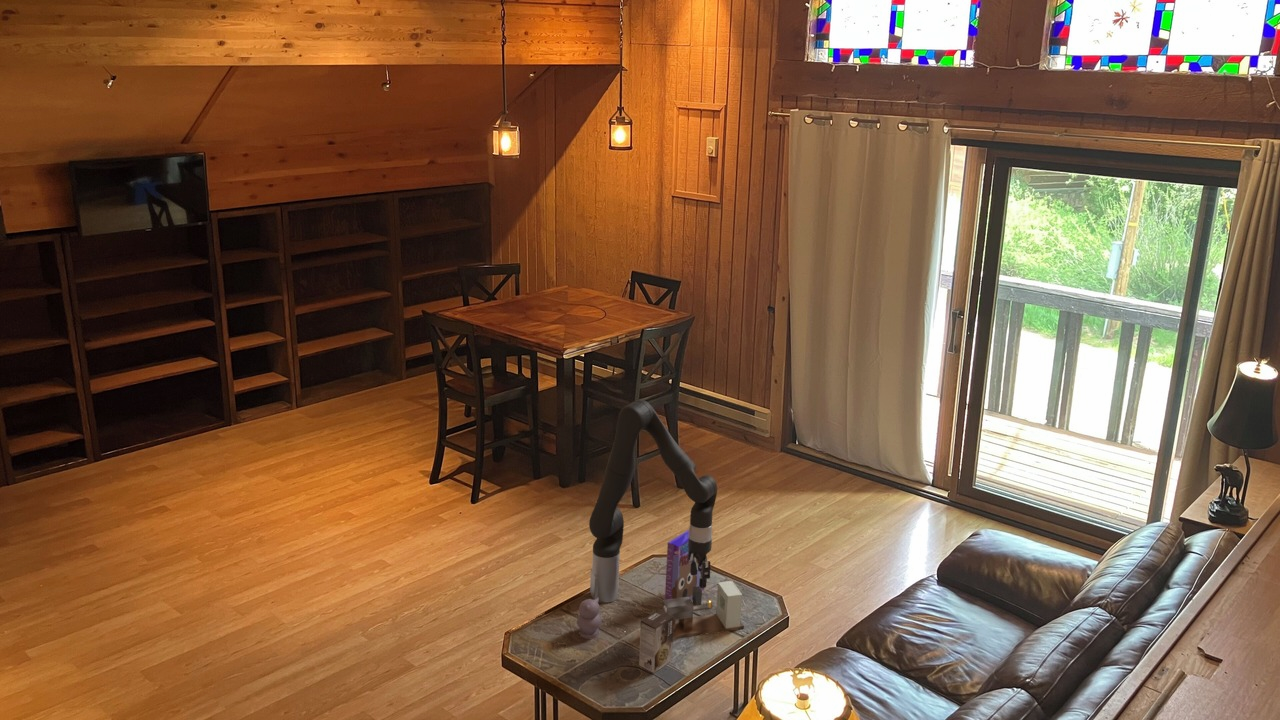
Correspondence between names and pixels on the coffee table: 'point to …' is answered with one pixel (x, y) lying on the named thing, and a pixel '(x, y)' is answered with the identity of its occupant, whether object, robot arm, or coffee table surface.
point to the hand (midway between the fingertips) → (698, 581)
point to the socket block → (728, 604)
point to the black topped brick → (697, 601)
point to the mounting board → (692, 619)
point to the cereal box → (679, 569)
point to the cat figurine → (589, 619)
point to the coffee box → (656, 640)
